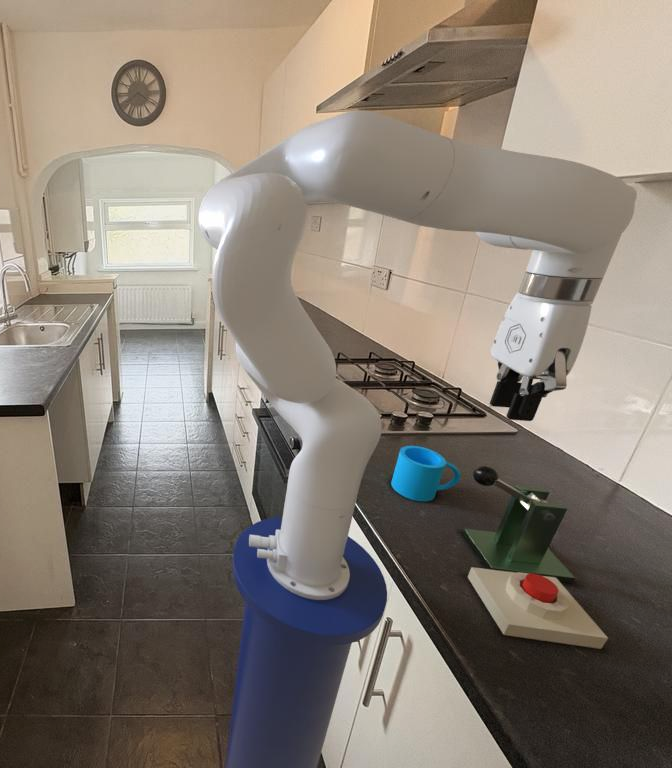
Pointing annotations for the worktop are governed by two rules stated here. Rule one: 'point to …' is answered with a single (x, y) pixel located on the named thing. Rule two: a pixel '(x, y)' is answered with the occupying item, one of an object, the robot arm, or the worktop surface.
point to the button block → (534, 610)
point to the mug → (421, 473)
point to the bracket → (523, 538)
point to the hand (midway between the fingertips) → (510, 411)
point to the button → (540, 588)
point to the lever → (503, 485)
